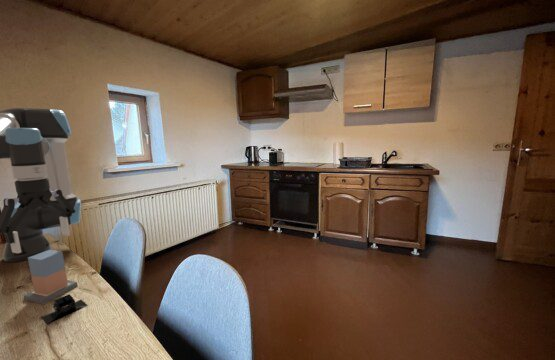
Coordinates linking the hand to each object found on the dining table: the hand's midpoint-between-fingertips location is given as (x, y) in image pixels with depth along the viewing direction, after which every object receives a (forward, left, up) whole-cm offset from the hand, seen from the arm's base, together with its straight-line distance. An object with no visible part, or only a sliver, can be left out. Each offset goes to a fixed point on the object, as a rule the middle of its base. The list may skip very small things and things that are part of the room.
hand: (43, 243), depth 80 cm
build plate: (+6, +15, -18) cm, 24 cm away
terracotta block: (0, 0, -16) cm, 16 cm away
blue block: (0, 0, -10) cm, 10 cm away
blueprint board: (0, 0, -17) cm, 17 cm away
